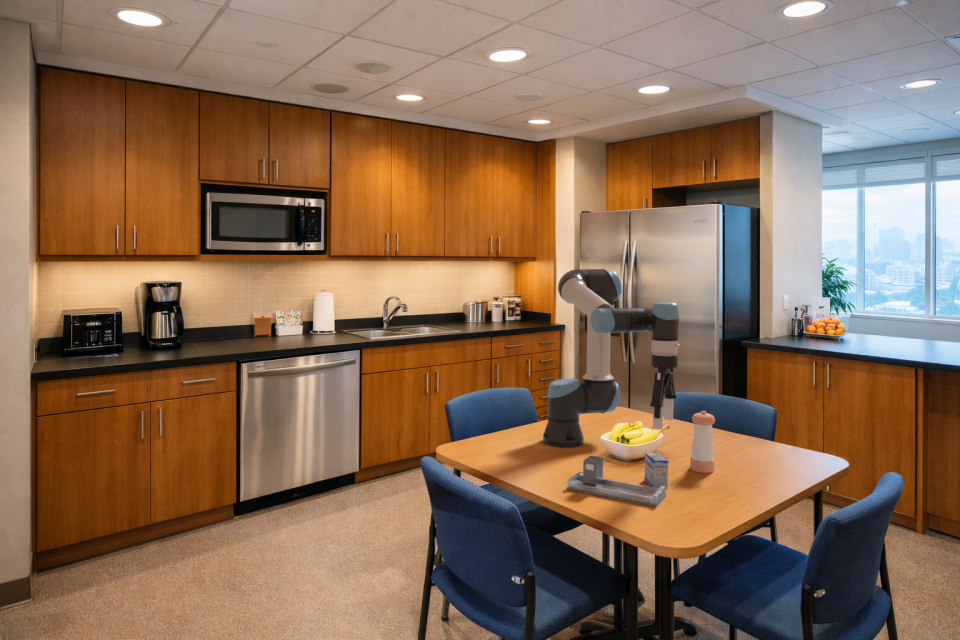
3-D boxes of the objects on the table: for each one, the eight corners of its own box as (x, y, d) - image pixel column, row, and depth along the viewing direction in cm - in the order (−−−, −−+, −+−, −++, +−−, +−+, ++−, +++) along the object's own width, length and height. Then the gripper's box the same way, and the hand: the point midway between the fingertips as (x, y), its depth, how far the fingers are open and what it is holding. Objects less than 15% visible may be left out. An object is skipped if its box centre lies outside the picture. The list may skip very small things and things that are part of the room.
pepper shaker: (718, 472, 195) (720, 413, 194) (697, 473, 194) (698, 414, 193) (706, 465, 202) (708, 408, 201) (685, 466, 201) (687, 408, 200)
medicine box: (643, 480, 188) (644, 452, 187) (658, 479, 188) (658, 452, 188) (653, 489, 180) (654, 460, 179) (668, 489, 180) (668, 460, 180)
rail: (567, 489, 179) (567, 460, 179) (580, 479, 188) (580, 451, 187) (656, 507, 166) (657, 475, 165) (665, 495, 175) (666, 465, 174)
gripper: (667, 359, 171) (666, 434, 172) (686, 350, 193) (684, 417, 194) (641, 358, 175) (639, 431, 176) (661, 349, 196) (660, 414, 198)
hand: (663, 424), depth 185 cm, fingers open, 13 cm apart
